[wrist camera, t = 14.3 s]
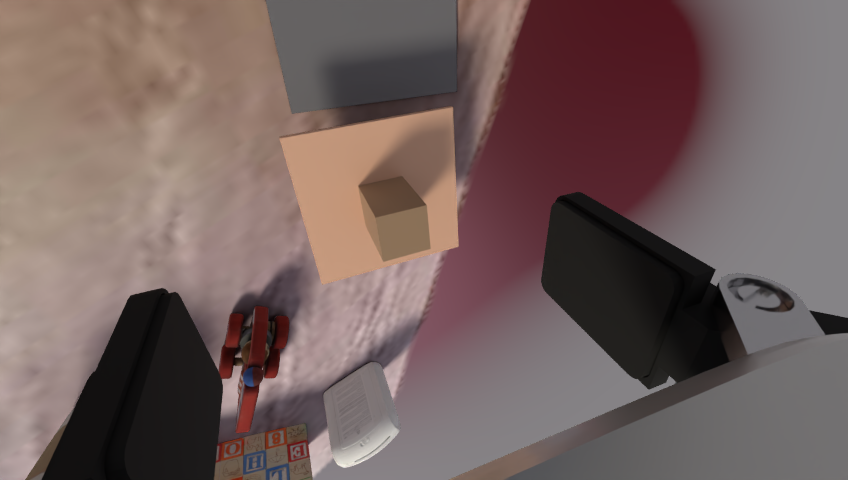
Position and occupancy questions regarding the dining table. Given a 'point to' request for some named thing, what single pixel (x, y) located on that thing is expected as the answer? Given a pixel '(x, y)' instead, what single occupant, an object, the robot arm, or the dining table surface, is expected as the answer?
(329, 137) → the cover
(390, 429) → the photo printer
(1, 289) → the dining table surface
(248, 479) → the stack of blocks
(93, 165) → the dining table surface
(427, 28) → the mat
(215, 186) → the dining table surface
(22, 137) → the dining table surface
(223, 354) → the toy fire truck
